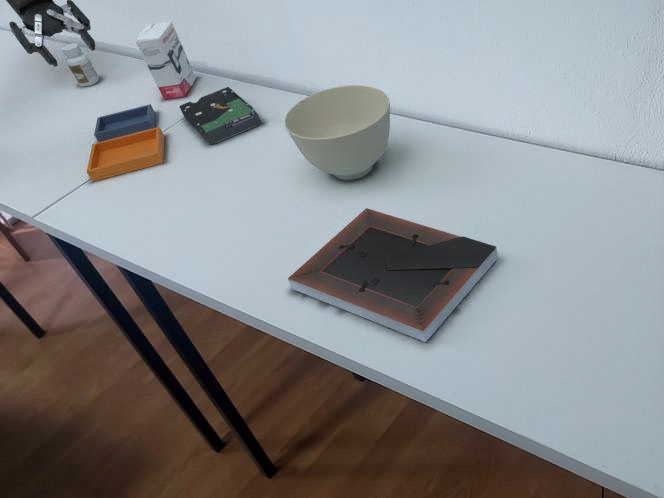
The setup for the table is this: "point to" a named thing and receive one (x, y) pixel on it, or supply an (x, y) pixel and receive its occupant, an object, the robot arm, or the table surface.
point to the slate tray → (125, 123)
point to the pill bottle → (80, 65)
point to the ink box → (166, 59)
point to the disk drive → (220, 115)
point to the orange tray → (126, 154)
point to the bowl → (341, 129)
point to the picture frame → (395, 272)
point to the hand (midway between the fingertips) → (75, 56)
